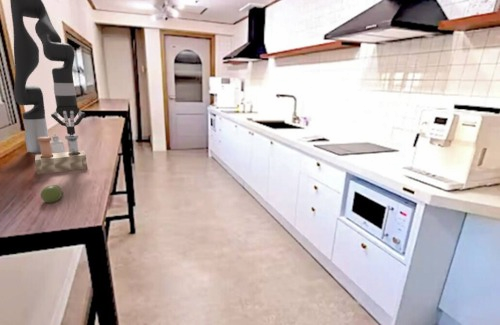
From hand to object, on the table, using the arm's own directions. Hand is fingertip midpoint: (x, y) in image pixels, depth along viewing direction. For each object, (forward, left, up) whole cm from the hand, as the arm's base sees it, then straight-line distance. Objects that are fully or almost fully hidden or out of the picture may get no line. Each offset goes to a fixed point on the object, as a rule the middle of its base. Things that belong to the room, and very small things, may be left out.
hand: (71, 135), depth 124 cm
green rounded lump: (+12, -35, -15) cm, 40 cm away
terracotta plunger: (-8, -5, -10) cm, 14 cm away
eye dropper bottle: (-16, +14, -15) cm, 26 cm away
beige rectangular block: (-4, -3, -14) cm, 15 cm away
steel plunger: (0, 0, -10) cm, 10 cm away
